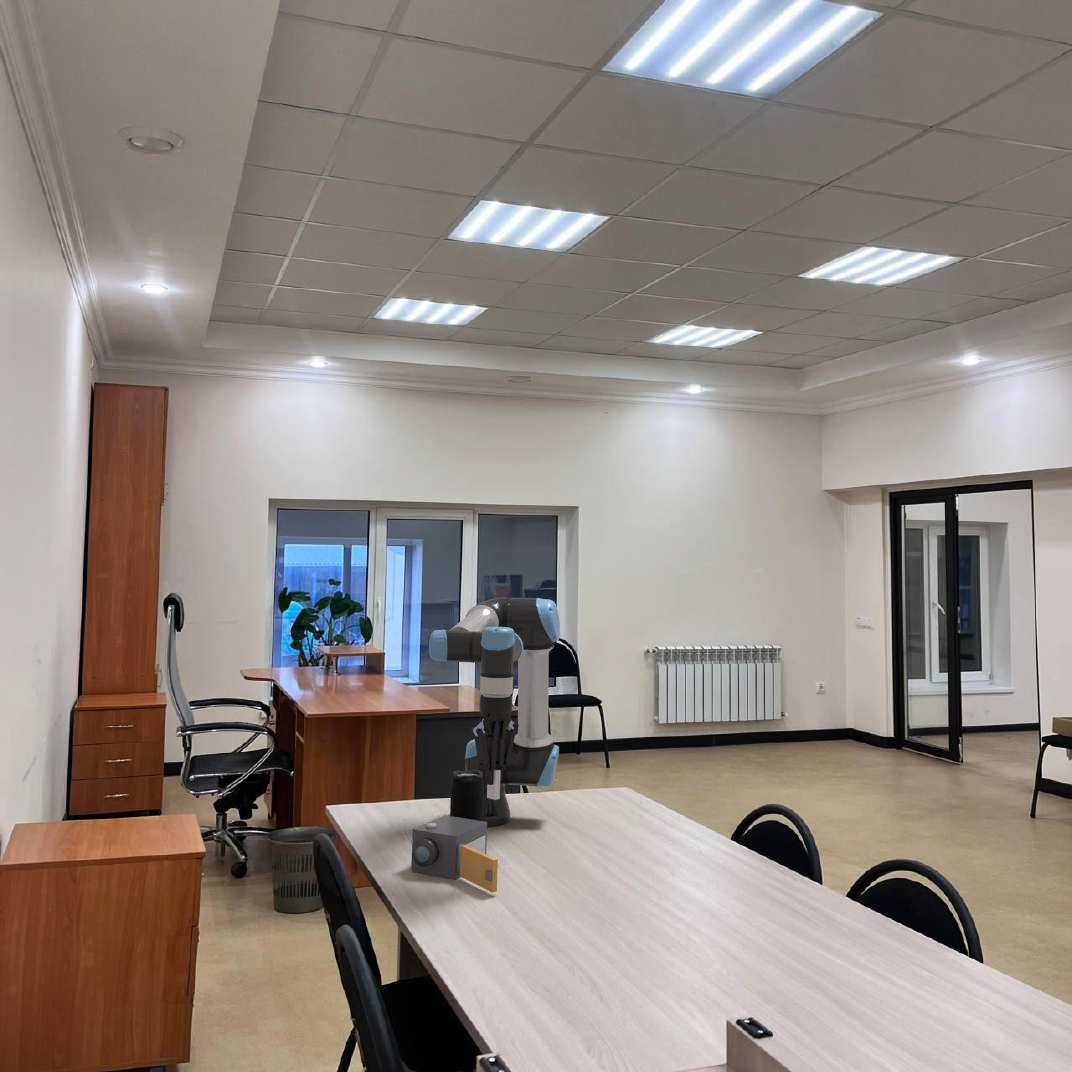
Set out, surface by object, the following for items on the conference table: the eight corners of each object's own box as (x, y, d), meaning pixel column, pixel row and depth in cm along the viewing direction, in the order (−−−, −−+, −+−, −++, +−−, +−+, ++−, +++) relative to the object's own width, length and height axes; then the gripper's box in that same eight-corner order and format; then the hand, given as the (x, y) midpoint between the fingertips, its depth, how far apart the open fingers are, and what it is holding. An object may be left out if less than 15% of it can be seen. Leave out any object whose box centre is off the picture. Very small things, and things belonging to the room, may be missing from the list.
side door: (497, 891, 214) (498, 859, 214) (489, 893, 213) (490, 860, 213) (461, 874, 225) (462, 843, 225) (453, 875, 224) (454, 845, 224)
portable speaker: (479, 843, 254) (482, 768, 254) (484, 854, 244) (486, 776, 245) (447, 844, 252) (449, 768, 253) (450, 855, 243) (453, 776, 243)
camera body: (443, 855, 242) (445, 812, 243) (486, 863, 237) (488, 818, 237) (404, 874, 226) (406, 828, 227) (449, 883, 221) (451, 836, 221)
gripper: (506, 690, 229) (503, 790, 229) (463, 695, 220) (460, 799, 220) (528, 694, 224) (525, 797, 223) (485, 699, 215) (482, 806, 214)
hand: (493, 798), depth 221 cm, fingers closed
